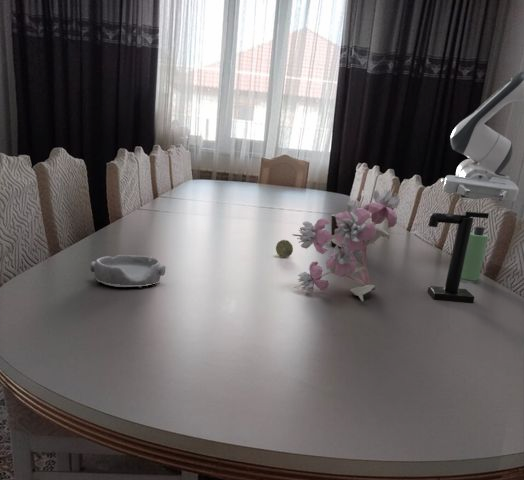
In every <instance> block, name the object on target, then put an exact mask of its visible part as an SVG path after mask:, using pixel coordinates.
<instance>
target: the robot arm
mask: <svg viewBox="0 0 524 480" xmlns="http://www.w3.org/2000/svg"><path fill="white" fill-rule="evenodd" d="M515 102H516V103H517V102H522V103H524V71H520V72H518V73H516V74H515V75H514V76H512V77H511V78H510V79H509V80H507V81H506V82H505V83H504V84H503V85H501V86H500V87H499V88H498V89H497V90H496V91H494V93H493V94H491V95H490V96H489V97H488V98H487V99H486V100H485V101H483V102H482V103H481V104H480V105H479V106H478V108H476V109H475V110H474V111H472V112H471V113H470V114H469V115H467V116H466V117H465V118H463V119H462V120H461V121H459V122H458V124H457V125H456V126H455V127H454V129H452V132H451V133H450V135H449V137H450V138H449V140H450V146H451V148H452V150H453V151H455V152H457V153H459V154H461V155H464V156H465V157H467V159H464V160H463V161H461V162H460V163H459V164H458V166H457V167H456V170H455V175H453V174H448V175H446V176H445V178H444V177H442V178H441V179H440V182H441V184H443V186H442V191H443V192H445V193H446V194H447V193H448V194H453V195H454V194H455V195H460V196H461V195H462V196H464V197H466V198H467V199H469V200H479V199H481V200H482V199H492V200H497V201H500V202H504V201H506V202H515V201H516V199H517V198H518V195H519V191H520V188H519V187H518V185H517V184H516V183H515V182H514V181H512V180H511V177H510V176H509V175H506V174H502V173H501V172H502V171H503V170H504V169H505V168H506V166H507V165H508V164H509V163H510V161H511V159H512V155H513V142H512V140H510V139H509V138H507V137H506V136H504V135H502V134H501V133H499V132H497V131H495V130H494V129H493V128H491V127H490V126H488V125H487V124H485V123H487V121H489V120H490V119H491V118H492V117H493V116H494V115H496V114H497V113H498V112H499V111H500V110H501V109H502V108H503V107H505V106H506V105H508V104H512V103H515Z"/></svg>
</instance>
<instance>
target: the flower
mask: <svg viewBox="0 0 524 480" xmlns="http://www.w3.org/2000/svg"><path fill="white" fill-rule="evenodd" d="M395 189H396V185H395V184H394V185H392V190H391V189H389V190H388V188H386V190H385V189H384V190H383V191H382V194H380V191H379V188H376V189H375V190H374V191H373V196H372V199H373V200H374V202H371V203H365V204H363V205H362V203H363V201H364V198H365V197H364V196H362V198H361V201H360V202H358V201H357V200H356V199H355V200H354V199H352V200H351V199H349V200H348V201H347V203H346V206H345V208H346V209H345V210H344V212H338V213H336V214H337V215H336V223H337V226H338V228H337V229H335V234H334V235H331V232H329V231H328V230H327V229H325V228H326V225H328V224H331V223H330V222H331V221H330V220H329V219H328V218H326V217H321V218H319V219H318V220H317V221H316V223H314V225H313V223H312V222H310V221H308V220H307V221H303V222H302V224H301V225H303V226H299V229H298V231H299V233H300V234H296V233H295V234H293V233H292V234H291V235H292V236H293V237H297V238H296V239H297V240H299V241H298V244H300V243H301V244H300V247H301V248H302V249H306V250H307V249H308V248H310V247H311V246H312V245H313V247H314V248H315V250H316V252H317V253H319V254H322V255H324V254H326V252H328V251H329V249H327V248H324V245H325V244H327V243H329V242H331V240H332V242H333V243H335V244H336V246H335V247H333V252H332V253H331V254H330V256H329V257H330V258H328V259H326V262H325V266H326V269H327V270H329V272H326V273H323V272H324V269H323V268H322V266H321V265H319V262H318V261H311V263H310V264H309V268H308V270H309V273H308V272H307V271H303V272H300V273H299V274H298V275H297V277H299V278H297V280H298V283H300V284H298V286H293V288H294V289H296V288H298V287H302V288H301V291H302V290H303V291H305V294H312V293H314V287H315V286H316V287H317V289H319V290H320V291H326V290H328V289H329V285H330V283H329V280H325V279H322V278H323V277H324V276H326V275H328V274H334V275H335V276H338V277H340V278H343V277H345V278H348V279H351V280H352V281H354V282H356V283H358V284H359V285H362V286H356V287H353V288H351V289H350V290H349V291H350V292H351V294H353V295H354V296H358V298H359V299H360V301H361V302H364V295H365V294H367V293H369V292H373V291H375V290H376V286H375V285H374V284H371V280H370V276H369V272H368V259H367V247H368V246H369V245H372V244H373V245H376V243H375V242H377V241H378V240H379V239H380V238H381V237H383V238H384V237H387V239H388V240H390V237H391V236H390V233H388V232H387V231H386V230H385V229H383V228H380V227H376V225H380V224H382V223H383V222H384V221H385V220H387V229H390V228H394V227H395V226H396V224H397V223H398V222H397V220H398V215H397V213H396V212H395V210H393V209H397V208H398V206H399V204H400V200H401V198H400V195H399V194H397V192H395V193H394V195H393V192H394V190H395ZM369 219H371V222H367V221H368V220H369ZM364 222H365V223H364ZM331 238H332V239H331ZM337 245H338V246H339V247H341V248H338V246H337ZM342 247H344V248H342ZM354 252H357V253H358V252H362V259H361V260H362V263H360V262H358V261H357V259H356V257H355V255H354ZM354 273H358V274H359V275H360V276H361V278H362V280H361V279H360V278H358V277H357V276H354V275H352V274H354Z"/></svg>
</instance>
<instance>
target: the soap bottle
mask: <svg viewBox="0 0 524 480" xmlns="http://www.w3.org/2000/svg"><path fill="white" fill-rule="evenodd" d="M484 233H485V227H484V226H478V225H477V226H474V231H473V232H471V233H470V237H469V242H468V247H467V251H466V256H465V260H464V265H463V270H462V274H461V279H462V280H465V281H471V282H472V281H473V282H475V281H479V279H480V275H481V270H482V266H483V261H484V257H485V253H486V249H487V244H488V240H489V235H488V234H484ZM461 279H460V280H461Z"/></svg>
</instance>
